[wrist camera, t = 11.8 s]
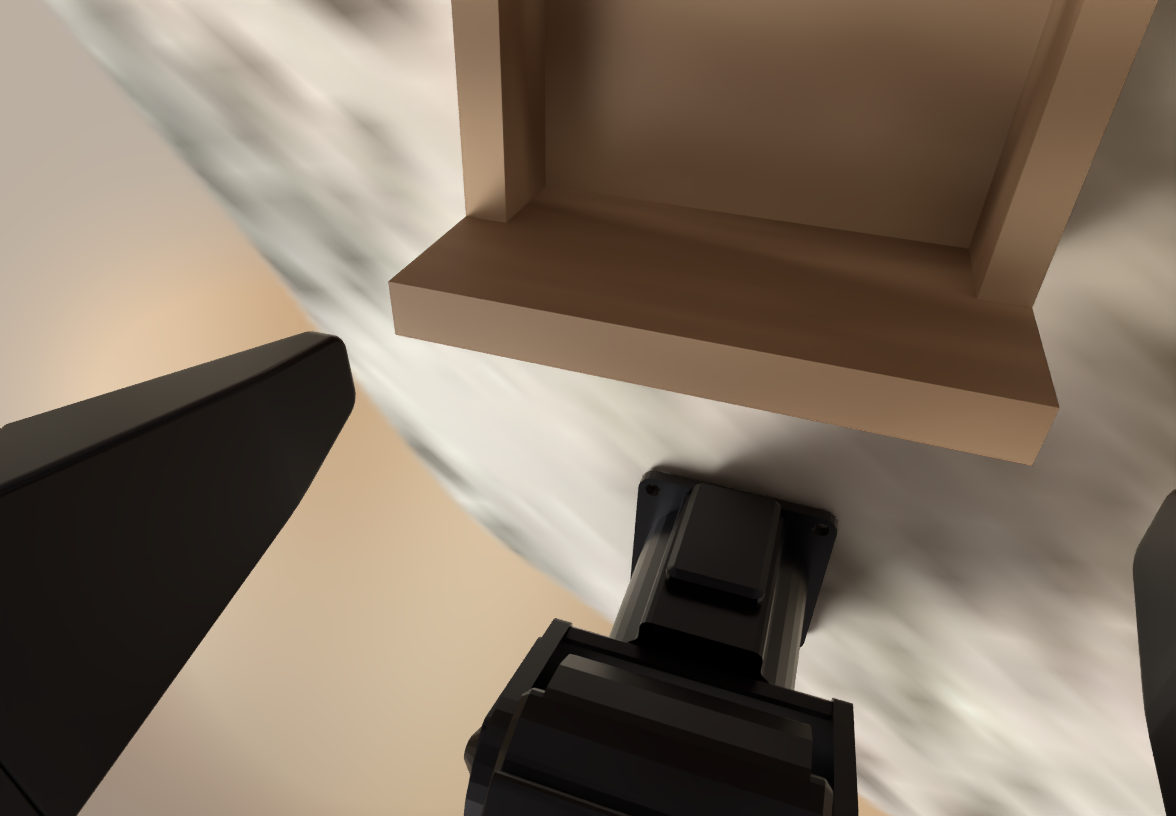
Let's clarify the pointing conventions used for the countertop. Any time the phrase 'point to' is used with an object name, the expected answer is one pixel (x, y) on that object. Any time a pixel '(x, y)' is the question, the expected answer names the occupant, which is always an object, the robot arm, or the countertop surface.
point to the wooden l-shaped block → (777, 200)
